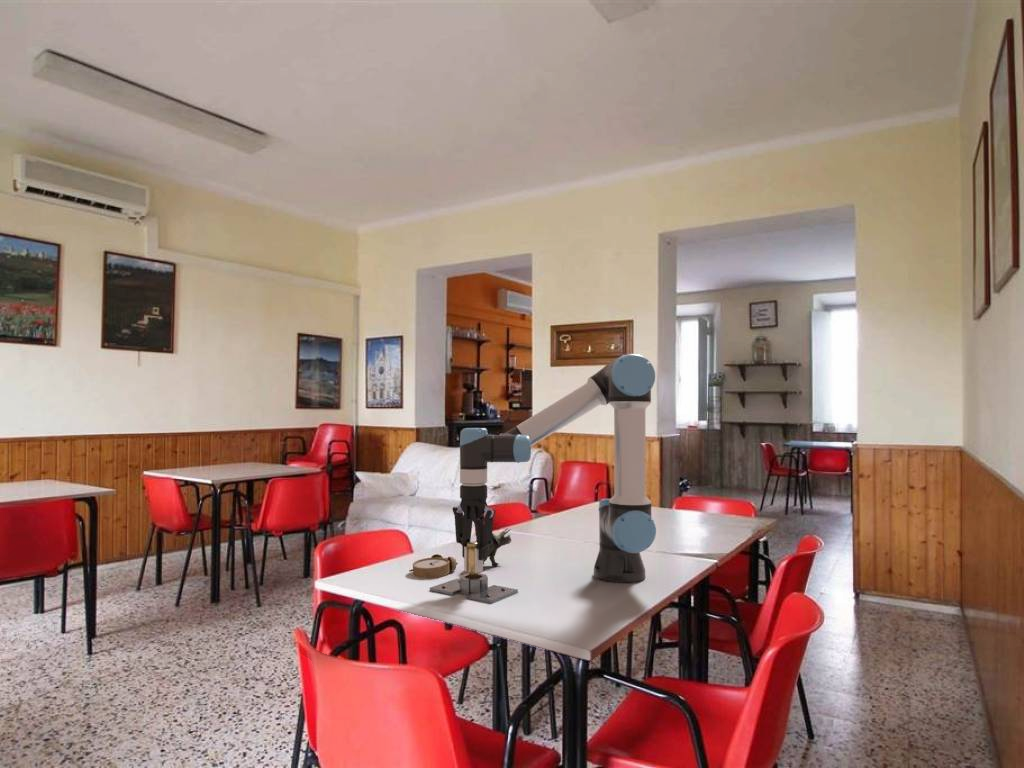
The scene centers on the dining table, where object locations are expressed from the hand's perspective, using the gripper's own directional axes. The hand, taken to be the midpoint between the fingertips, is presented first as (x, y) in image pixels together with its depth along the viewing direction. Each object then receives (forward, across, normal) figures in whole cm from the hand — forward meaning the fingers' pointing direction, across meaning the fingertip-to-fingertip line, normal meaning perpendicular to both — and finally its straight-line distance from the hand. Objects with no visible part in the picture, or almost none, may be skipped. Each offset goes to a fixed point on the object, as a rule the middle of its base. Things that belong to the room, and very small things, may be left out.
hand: (473, 570), depth 172 cm
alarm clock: (+6, +23, -10) cm, 26 cm away
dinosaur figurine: (+6, +14, -23) cm, 28 cm away
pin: (+4, 0, 0) cm, 4 cm away
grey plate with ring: (+6, 0, 0) cm, 6 cm away
